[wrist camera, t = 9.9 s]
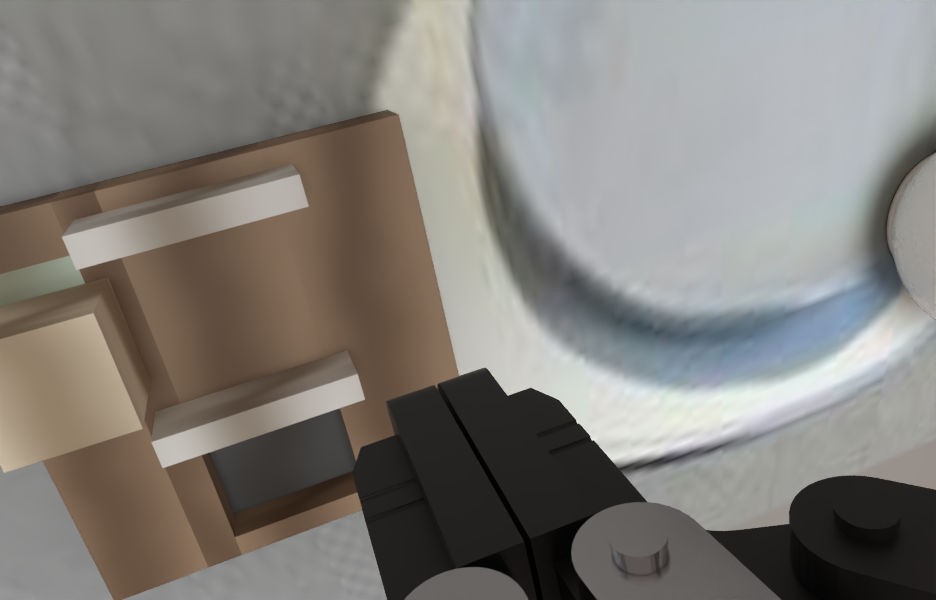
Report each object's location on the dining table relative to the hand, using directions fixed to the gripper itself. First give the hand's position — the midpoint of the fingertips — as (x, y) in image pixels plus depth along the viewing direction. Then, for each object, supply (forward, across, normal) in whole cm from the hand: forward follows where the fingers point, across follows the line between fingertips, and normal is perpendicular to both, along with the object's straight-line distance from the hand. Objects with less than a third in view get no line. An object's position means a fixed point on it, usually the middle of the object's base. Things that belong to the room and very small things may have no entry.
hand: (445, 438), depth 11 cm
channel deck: (+22, +5, +7) cm, 24 cm away
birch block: (+20, +10, +4) cm, 23 cm away
